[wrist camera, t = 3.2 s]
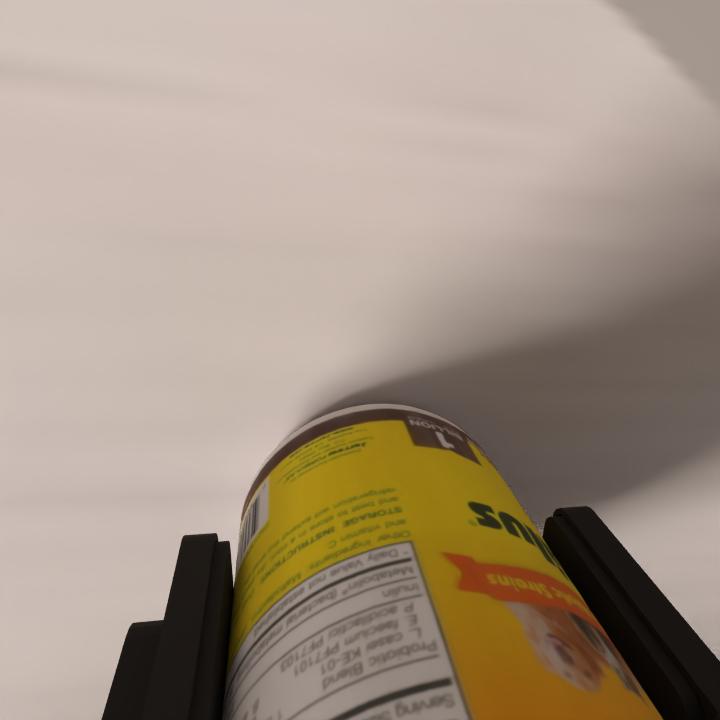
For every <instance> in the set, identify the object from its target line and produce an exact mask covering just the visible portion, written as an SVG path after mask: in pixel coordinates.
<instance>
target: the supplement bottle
mask: <svg viewBox="0 0 720 720" xmlns="http://www.w3.org/2000/svg"><path fill="white" fill-rule="evenodd" d="M233 593H234V597H233V605H232V615H231V628H230V637H229V646H228V658H227V669H226V681H225V694H224V701H223V713H222V720H663V718H662V717H661V715H660V714H659V712H658V711H657V709H656V708H655V706H654V705H653V703H652V702H651V700H650V699H649V697H648V696H647V694H646V693H645V691H644V690H643V688H642V687H641V685H640V684H639V682H638V681H637V679H636V678H635V676H634V675H633V673H632V672H631V670H630V669H629V667H628V665H627V664H626V662H625V661H624V659H623V658H622V656H621V655H620V653H619V651H618V650H617V649H616V647H615V646H614V644H613V643H612V642H611V640H610V639H609V637H608V635H607V634H606V632H605V631H604V629H603V628H602V626H601V625H600V623H599V622H598V621H597V619H596V618H595V616H594V615H593V613H592V612H591V611H590V609H589V607H588V606H587V604H586V603H585V601H584V600H583V598H582V596H581V595H580V593H579V592H578V591H577V589H576V588H575V586H574V585H573V583H572V582H571V581H570V579H569V578H568V576H567V575H566V573H565V572H564V570H563V568H562V566H561V565H560V563H559V561H558V560H557V559H556V558H555V557H554V555H553V554H552V552H551V550H550V549H549V547H548V546H547V544H546V543H545V541H544V539H543V538H542V536H541V535H540V533H539V532H538V530H537V529H536V527H535V526H534V525H533V523H532V522H531V520H530V519H529V517H528V516H527V514H526V513H525V511H524V510H523V508H522V507H521V505H520V504H519V502H518V501H517V499H516V498H515V496H514V495H513V493H512V492H511V490H510V489H509V487H508V486H507V484H506V483H505V481H504V480H503V478H502V477H501V475H500V474H499V472H498V471H497V469H496V468H495V466H494V465H493V463H492V462H491V461H490V460H489V458H488V457H487V456H486V454H485V453H484V452H483V450H482V449H481V447H480V446H479V445H478V444H477V443H476V442H475V441H474V440H473V439H472V438H471V437H470V436H469V435H468V434H467V433H466V432H464V431H463V430H462V429H460V428H459V427H458V426H456V425H454V424H453V423H451V422H450V421H448V420H446V419H444V418H442V417H440V416H438V415H436V414H433V413H431V412H428V411H425V410H422V409H418V408H415V407H411V406H405V405H398V404H367V405H359V406H354V407H349V408H345V409H342V410H338V411H335V412H332V413H329V414H327V415H324V416H322V417H319V418H317V419H315V420H313V421H311V422H310V423H308V424H306V425H304V426H303V427H301V428H300V429H298V430H297V431H295V432H294V433H293V434H291V435H290V436H289V437H287V438H286V439H285V440H284V441H283V442H282V443H280V444H279V445H278V446H277V447H276V449H275V450H274V451H273V452H272V453H271V454H270V455H269V456H268V458H267V459H266V460H265V462H264V463H263V464H262V466H261V467H260V469H259V470H258V472H257V473H256V475H255V477H254V479H253V481H252V483H251V485H250V488H249V490H248V493H247V496H246V498H245V502H244V506H243V511H242V517H241V526H240V534H239V543H238V555H237V561H236V575H235V582H234V591H233Z"/></svg>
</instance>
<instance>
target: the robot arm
mask: <svg viewBox="0 0 720 720" xmlns="http://www.w3.org/2000/svg"><path fill="white" fill-rule="evenodd" d="M542 538H543V539H544V541H545V543H546V544H547V546H548V547H549V549H550V550H551V552H552V554H553V555H554V557H555V558H556V559H557V560H558V561H559V563H560V565H561V566H562V568H563V570H564V572H565V573H566V575H567V576H568V578H569V579H570V581H571V582H572V583H573V585H574V586H575V588H576V589H577V591H578V592H579V593H580V595H581V596H582V598H583V600H584V601H585V603H586V604H587V606H588V607H589V609H590V611H591V612H592V613H593V615H594V616H595V618H596V619H597V621H598V622H599V623H600V625H601V626H602V628H603V629H604V631H605V632H606V634H607V635H608V637H609V639H610V640H611V642H612V643H613V644H614V646H615V647H616V649H617V650H618V651H619V653H620V655H621V656H622V658H623V659H624V661H625V662H626V664H627V665H628V667H629V669H630V670H631V672H632V673H633V675H634V676H635V678H636V679H637V681H638V682H639V684H640V685H641V687H642V688H643V690H644V691H645V693H646V694H647V696H648V697H649V699H650V700H651V702H652V703H653V705H654V706H655V708H656V709H657V711H658V712H659V714H660V715H661V717H662V718H663V720H720V661H719V660H718V659H717V658H716V656H715V655H714V654H713V653H712V652H711V651H710V649H709V648H708V647H707V646H706V645H705V643H704V642H703V641H702V640H701V639H700V637H699V636H698V635H697V634H696V633H695V631H694V630H693V629H692V628H691V627H690V625H689V624H688V623H687V622H686V621H685V619H684V618H683V617H682V616H681V615H680V613H679V612H678V611H677V610H676V609H675V607H674V606H673V605H672V604H671V603H670V602H669V600H668V599H667V598H666V597H665V596H664V594H663V593H662V592H661V591H660V590H659V588H658V587H657V586H656V585H655V584H654V582H653V581H652V580H651V579H650V578H649V576H648V575H647V574H646V573H645V572H644V570H643V569H642V568H641V567H640V566H639V564H638V563H637V562H636V561H635V560H634V559H633V557H632V556H631V555H630V554H629V553H628V551H627V550H626V549H625V548H624V547H623V545H622V544H621V543H620V542H619V541H618V539H617V538H616V537H615V536H614V535H613V533H612V532H611V531H610V530H609V529H608V527H607V526H606V525H605V524H604V523H603V521H602V520H601V519H600V518H599V517H598V516H597V514H596V513H595V512H594V511H593V510H592V509H591V508H590V507H587V506H583V507H569V508H559V509H556V510H555V512H554V514H553V517H548V518H547V519H546V522H545V526H544V532H543V537H542ZM233 591H234V588H233V575H232V563H231V551H230V542H229V541H222V542H218V536H217V534H216V533H212V534H198V535H184V536H183V538H182V541H181V546H180V550H179V555H178V559H177V563H176V568H175V572H174V577H173V581H172V585H171V590H170V594H169V599H168V603H167V607H166V612H165V616H164V620H159V621H148V622H137V623H132V625H131V626H130V628H129V630H128V633H127V635H126V638H125V642H124V645H123V648H122V652H121V655H120V659H119V662H118V665H117V669H116V672H115V676H114V679H113V682H112V686H111V689H110V693H109V696H108V699H107V703H106V706H105V710H104V713H103V717H102V720H222V713H223V701H224V694H225V681H226V669H227V658H228V646H229V637H230V628H231V615H232V605H233V597H234V593H233Z"/></svg>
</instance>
